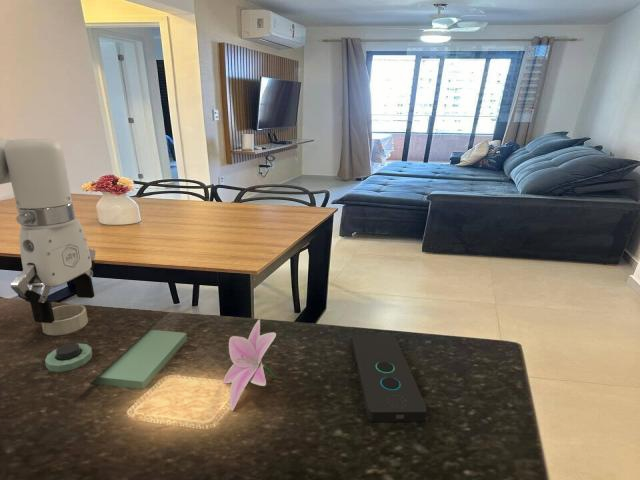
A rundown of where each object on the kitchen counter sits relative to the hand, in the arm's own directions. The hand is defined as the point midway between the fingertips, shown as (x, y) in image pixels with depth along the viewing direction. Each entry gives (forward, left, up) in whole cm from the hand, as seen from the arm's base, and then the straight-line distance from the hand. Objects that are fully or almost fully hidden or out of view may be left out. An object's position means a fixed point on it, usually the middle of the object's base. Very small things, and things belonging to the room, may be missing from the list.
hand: (66, 308), depth 68 cm
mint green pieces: (+13, -5, -5) cm, 15 cm away
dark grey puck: (+8, -10, -3) cm, 13 cm away
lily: (+36, -9, -5) cm, 38 cm away
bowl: (-1, 0, -5) cm, 5 cm away
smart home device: (+56, -3, -5) cm, 57 cm away
